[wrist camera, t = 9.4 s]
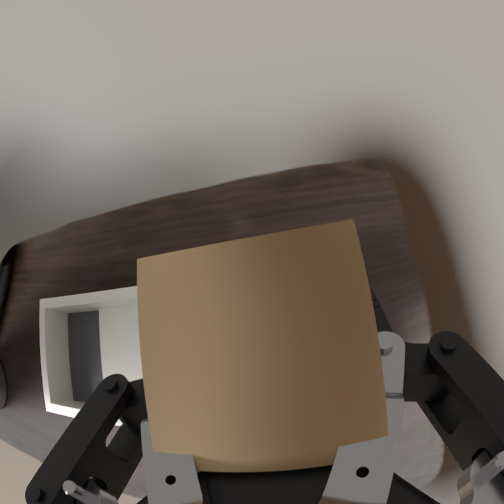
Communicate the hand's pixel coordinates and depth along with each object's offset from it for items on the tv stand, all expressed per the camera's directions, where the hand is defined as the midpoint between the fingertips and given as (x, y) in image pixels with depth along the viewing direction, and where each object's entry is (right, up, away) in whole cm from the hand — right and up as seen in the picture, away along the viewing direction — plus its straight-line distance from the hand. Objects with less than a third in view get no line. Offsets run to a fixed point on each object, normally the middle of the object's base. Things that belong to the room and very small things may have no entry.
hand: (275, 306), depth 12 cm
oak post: (+1, -3, +4) cm, 5 cm away
